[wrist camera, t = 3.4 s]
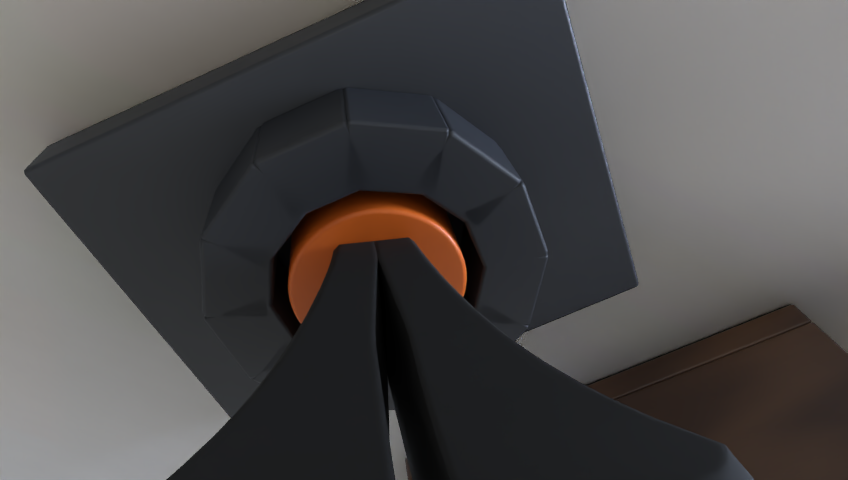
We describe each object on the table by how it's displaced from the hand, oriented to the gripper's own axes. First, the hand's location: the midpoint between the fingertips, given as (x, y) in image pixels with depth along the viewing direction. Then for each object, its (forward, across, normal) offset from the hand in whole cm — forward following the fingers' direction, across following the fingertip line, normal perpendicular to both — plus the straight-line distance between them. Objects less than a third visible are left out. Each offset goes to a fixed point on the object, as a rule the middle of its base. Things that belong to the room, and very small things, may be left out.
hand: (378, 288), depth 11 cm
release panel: (+3, 0, 0) cm, 3 cm away
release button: (+2, 0, 0) cm, 2 cm away
